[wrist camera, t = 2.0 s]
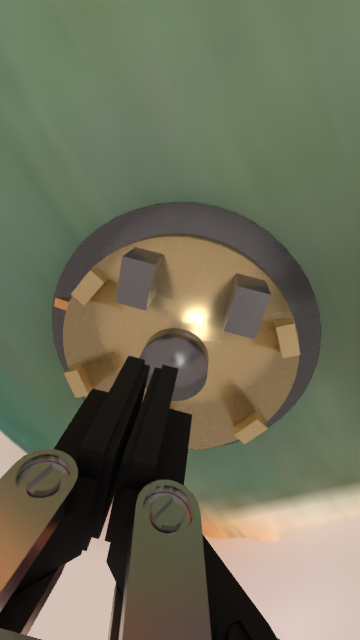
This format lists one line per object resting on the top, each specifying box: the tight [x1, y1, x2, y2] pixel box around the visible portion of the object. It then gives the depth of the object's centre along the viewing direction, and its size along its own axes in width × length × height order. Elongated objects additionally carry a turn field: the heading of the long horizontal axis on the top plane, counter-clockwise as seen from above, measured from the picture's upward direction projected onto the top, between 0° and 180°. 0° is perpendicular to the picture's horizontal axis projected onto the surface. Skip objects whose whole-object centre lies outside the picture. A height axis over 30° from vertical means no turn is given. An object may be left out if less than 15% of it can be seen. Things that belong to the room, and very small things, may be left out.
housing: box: [52, 202, 321, 447], centre depth 27 cm, size 22×22×2 cm
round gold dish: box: [63, 233, 300, 449], centre depth 24 cm, size 18×18×5 cm
